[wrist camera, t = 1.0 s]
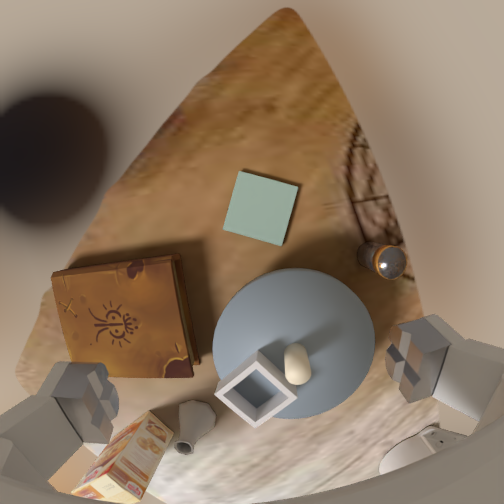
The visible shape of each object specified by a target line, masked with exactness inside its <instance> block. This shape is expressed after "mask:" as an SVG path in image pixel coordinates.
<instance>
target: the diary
mask: <svg viewBox="0 0 504 504" xmlns="http://www.w3.org/2000/svg"><path fill="white" fill-rule="evenodd" d="M51 281H52V286H53V291H54V296H55V301H56V305H57V310H58V314H59V318H60V322H61V326H62V330H63V334H64V338H65V341H66V345H67V348H68V352H69V355H70V358H71V362H101V363H103V364H104V365H105V366H106V368H107V370H108V373H109V375H108V377H127V378H193V376H194V372H193V367H192V366H193V365H200V361H199V356H198V351H197V347H196V342H195V337H194V331H193V326H192V321H191V316H190V310H189V305H188V299H187V293H186V287H185V281H184V275H183V269H182V263H181V256H180V254H179V253H178V254H171V255H164V256H156V257H149V258H142V259H134V260H127V261H120V262H113V263H106V264H99V265H92V266H85V267H78V268H71V269H64V270H60V271H56V272H53V274H52V276H51Z"/></svg>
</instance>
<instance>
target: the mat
mask: <svg viewBox="0 0 504 504" xmlns="http://www.w3.org/2000/svg"><path fill="white" fill-rule="evenodd" d="M297 190H298V187H296V186H293V185H289V184H286V183H282V182H279V181H275V180H271V179H268V178H264V177H260V176H257V175H253V174H249V173H245V172H241V171H239V173H238V177H237V180H236V184H235V187H234V191H233V194H232V198H231V201H230V205H229V208H228V212H227V216H226V219H225V223H224V226H223V230H227V231H230V232H234V233H237V234H241V235H244V236H248V237H251V238H255V239H258V240H262V241H265V242H269V243H272V244H276V245H279V246H282V243H283V240H284V236H285V233H286V229H287V226H288V222H289V219H290V215H291V211H292V208H293V204H294V201H295V197H296V193H297Z"/></svg>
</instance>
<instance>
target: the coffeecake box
mask: <svg viewBox="0 0 504 504" xmlns="http://www.w3.org/2000/svg"><path fill="white" fill-rule="evenodd" d="M173 435H174V432H172V431H171V430H170V429H169V428H168V427H166V426H165V425H164V424H163V423H162V422H161V421H160V420H159V419H158V418H157V417H156V416H155V415H154V414H152V413H151V412H150V411H147V412H146V413H145V414H143V415H142V416H141V417H139V418H138V419H137V420H135V421H134V422H133V423H131V424H130V425H129V426H127V427H126V428H125V429H123V430H122V431H121V432H119V433H118V434H117V435H116V436H114V437H113V438H112V439H111V441H110V442H109V444H108V445H107V446H106V447H105V449H104V450H103V451H102V453H101V454H100V455H99V457H98V458H97V459H96V461H95V462H94V463H93V464H92V466H91V467H90V469H89V470H88V471H87V472H86V474H85V475H84V476H83V478H82V479H81V480H80V481H79V483H78V484H77V485H76V487H75V488H74V489H73V490H72V491H71V493H72V494H73V495H74V496H79V497H84V498H90V499H95V500H102V501H108V502H115V503H123V504H134V503H136V502H139V501H141V499H142V497H143V494H144V492H145V491H146V489H147V487H148V485H149V483H150V481H151V479H152V477H153V475H154V473H155V471H156V469H157V467H158V465H159V463H160V461H161V459H162V457H163V455H164V453H165V451H166V449H167V447H168V444H169V442H170V440H171V438H172V436H173Z"/></svg>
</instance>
